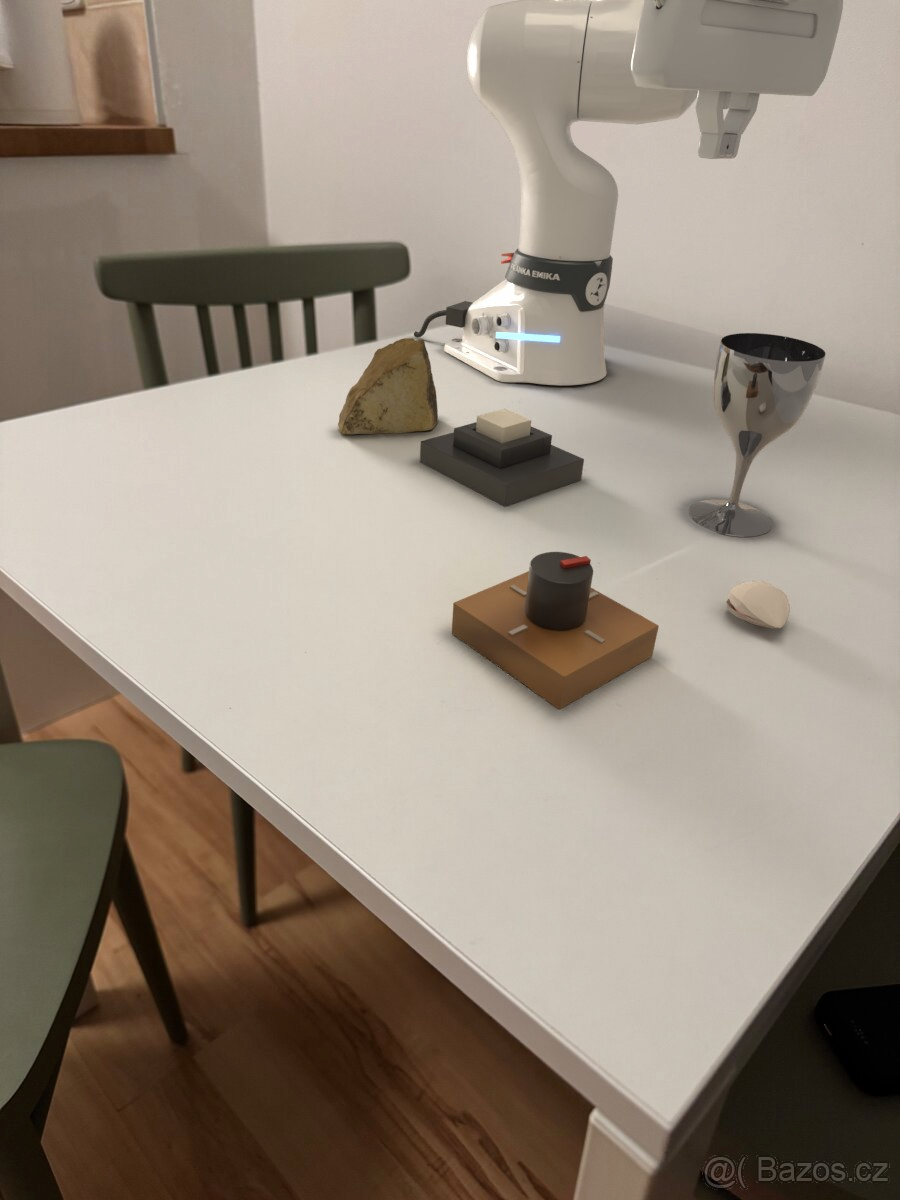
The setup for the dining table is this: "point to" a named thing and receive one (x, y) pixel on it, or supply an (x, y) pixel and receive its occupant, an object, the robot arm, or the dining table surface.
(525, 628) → the volume panel
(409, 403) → the rock
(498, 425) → the cream square button
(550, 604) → the volume knob
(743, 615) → the clam shell
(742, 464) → the wine glass
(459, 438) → the button base
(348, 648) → the dining table surface
